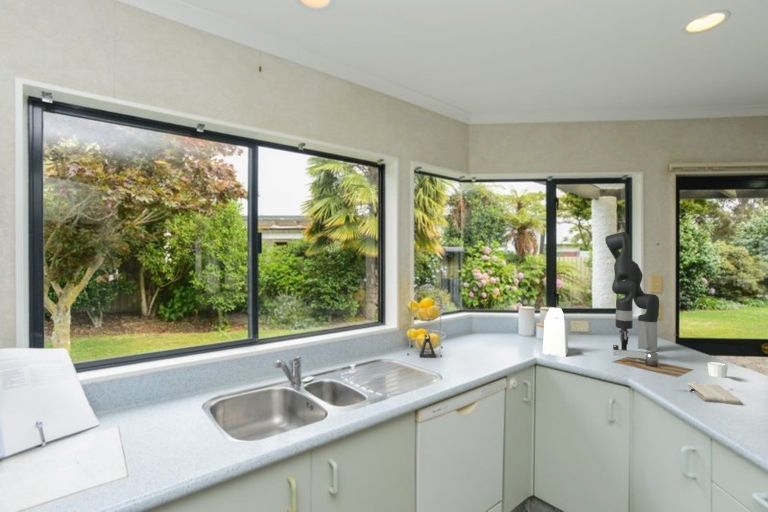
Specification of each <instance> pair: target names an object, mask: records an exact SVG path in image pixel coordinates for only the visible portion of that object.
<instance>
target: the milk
mask: <svg viewBox="0 0 768 512" xmlns="http://www.w3.org/2000/svg"><path fill="white" fill-rule="evenodd" d="M542 339H543V340H542V341H543V343H542V354H543V353H544V354H543V355H548V354H551V355H550V356H555V355H559V356H558V357H563V356H566V355H568V354H569V344H568V343H569V342H568V341H569V340H568V323H567V318H566V316H565V313H564V312H563V309H562V307H561V308H560V307H549V309H548V311H547V313H546V315H545V318H544V323H543V338H542ZM567 353H568V354H567ZM566 357H567V356H566Z"/></svg>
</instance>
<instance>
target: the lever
mask: <svg viewBox="0 0 768 512" xmlns="http://www.w3.org/2000/svg"><path fill="white" fill-rule="evenodd" d="M612 350H613V351H612V352H613V353H612V354H613V356H617V357H623V358H625V357H633V358H642V359H645V365H648V366H654V367H656V366H658V362H659V361H658V360H659V359H658V357H659V356H658V353H657V352H651V351H640V350H639V351H638V350H630V349H627V350H622V349H619V345H618V344H613V345H612Z"/></svg>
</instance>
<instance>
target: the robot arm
mask: <svg viewBox="0 0 768 512" xmlns="http://www.w3.org/2000/svg"><path fill="white" fill-rule="evenodd" d="M605 244H606V247H607V248H608V250H609V251H610V253H611V255H612V257H613V258H614V260H615V262H614V264H613V266H614V267H613V269H614V271H613V272H614V279H613V283H612V287H611V289H612V292H613V293H614V294H615V295H626V296H625V297H621V298H617V299H616V302H615V327H616V329H617V328H618V329H620V330H619V331H618V333H619V339H620V344H621V349H622V350H628V348H627V347H628V346H627V345H629V336H630V332H629V331H628V330H631V329H633V327H634V326H633V325H634V324H633V320H634V319H633V317H634V315H633V301H634V304H635V306H636V307H637V308H639V309H641V310H646V311H645V313H642V314H639V315H637V317H638V319H637V334H638V335H637V336H638V337H637V348H638V350H646V351H647V352H655V353H657V352H658V319H659V315H660V299H659V296H658V295H656V294H653V293H645V292H644V291H643V289H642V287H641V284H642V281H643V280H642V279H643V276H644V275H643V271H642V270H641V268H640V266H639V264H638V263H637V262H635V261H634V260H632V259H630V253H631V252H630V251H631V239H630V236H629V235H628V233H627V232H626V231H619V232H617V233H613V234H610V235H607V236H605ZM620 250H621V251H620Z"/></svg>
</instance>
